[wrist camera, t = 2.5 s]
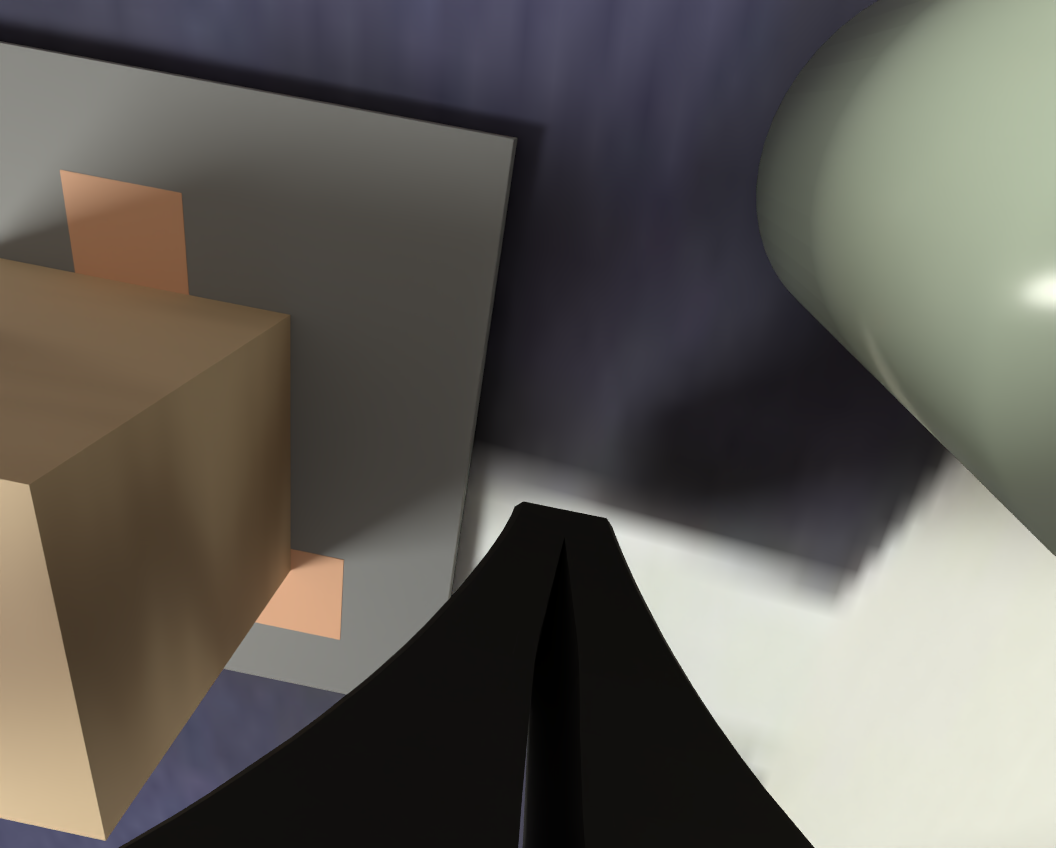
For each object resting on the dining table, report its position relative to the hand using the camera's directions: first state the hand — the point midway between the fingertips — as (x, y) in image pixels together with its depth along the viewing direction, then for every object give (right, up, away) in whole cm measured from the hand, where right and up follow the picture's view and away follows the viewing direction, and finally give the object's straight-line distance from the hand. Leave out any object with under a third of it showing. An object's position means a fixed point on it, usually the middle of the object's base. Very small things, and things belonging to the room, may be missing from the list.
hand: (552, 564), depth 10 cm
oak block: (-7, +2, +1) cm, 7 cm away
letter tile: (-7, +2, +2) cm, 7 cm away
